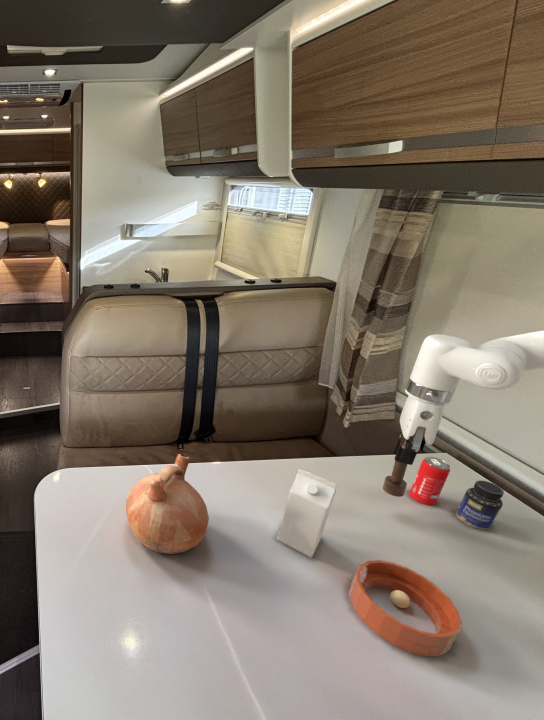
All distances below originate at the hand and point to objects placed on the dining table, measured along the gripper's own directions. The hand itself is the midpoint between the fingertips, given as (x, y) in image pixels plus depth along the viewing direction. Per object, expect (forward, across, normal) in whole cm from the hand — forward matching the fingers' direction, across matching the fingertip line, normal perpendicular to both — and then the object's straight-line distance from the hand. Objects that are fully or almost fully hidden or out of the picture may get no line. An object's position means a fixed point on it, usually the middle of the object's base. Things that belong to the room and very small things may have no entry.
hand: (402, 458), depth 100 cm
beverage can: (+17, +11, -9) cm, 22 cm away
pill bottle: (+17, +8, -18) cm, 26 cm away
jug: (+17, -36, +44) cm, 59 cm away
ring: (+17, -31, 0) cm, 35 cm away
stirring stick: (+10, 0, -1) cm, 10 cm away
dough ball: (+15, -28, 0) cm, 32 cm away
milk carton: (+17, -21, +17) cm, 32 cm away
